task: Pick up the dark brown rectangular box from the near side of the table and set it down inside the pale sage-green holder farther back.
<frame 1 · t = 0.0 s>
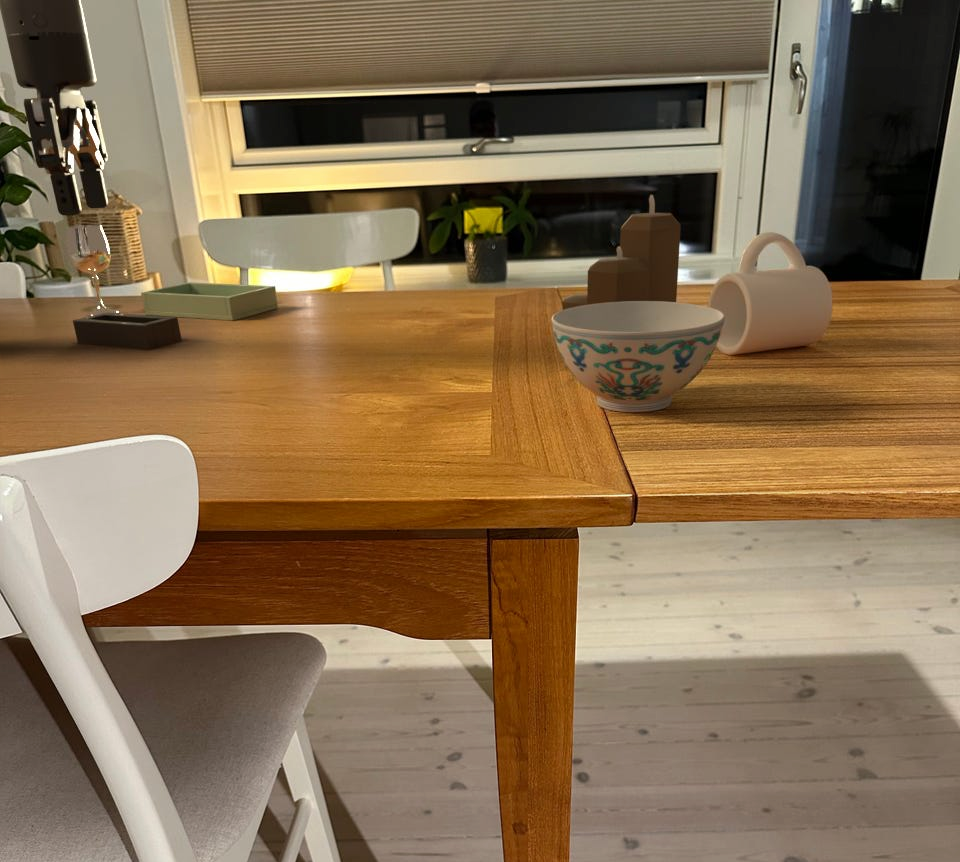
hand: (85, 211, 102), 16 cm above the table, tool pointing down, fingers open, 8 cm apart
holder: (211, 311, 141), on the table
mug: (764, 351, 105), on the table
dark brown rectangular box: (130, 347, 119), on the table
chinaware: (633, 405, 88), on the table
wineglass: (102, 314, 143), on the table
candle: (624, 333, 117), on the table
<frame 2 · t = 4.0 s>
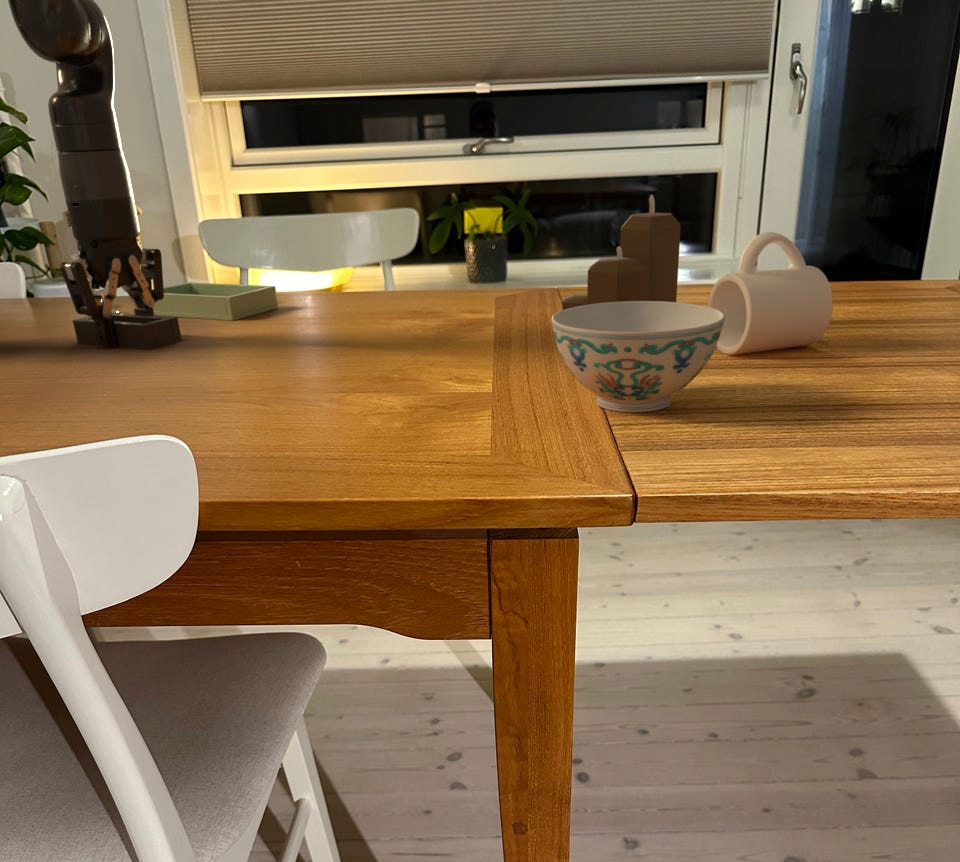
hand: (130, 343, 118), 1 cm above the table, tool pointing down, fingers closed on dark brown rectangular box, 5 cm apart
dark brown rectangular box: (130, 347, 119), on the table, touching gripper
everything else where it was.
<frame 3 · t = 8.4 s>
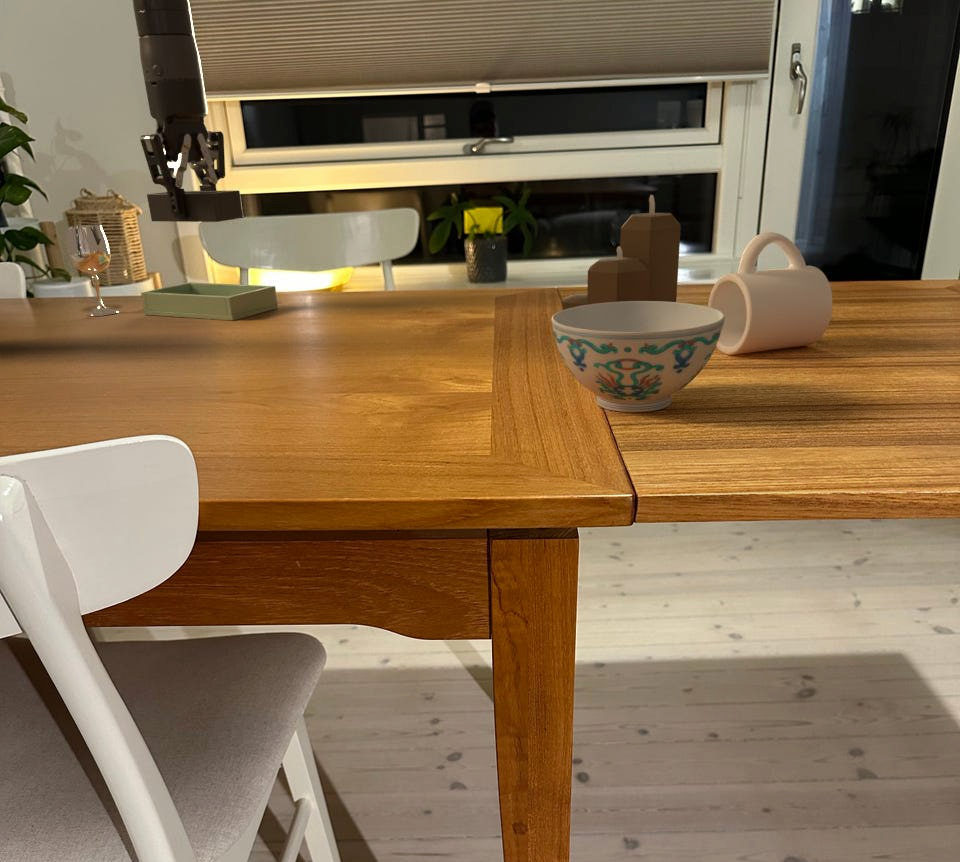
hand: (196, 215, 134), 13 cm above the table, tool pointing down, fingers closed on dark brown rectangular box, 5 cm apart
dark brown rectangular box: (197, 219, 135), point 12 cm above the table, touching gripper
everything else where it was.
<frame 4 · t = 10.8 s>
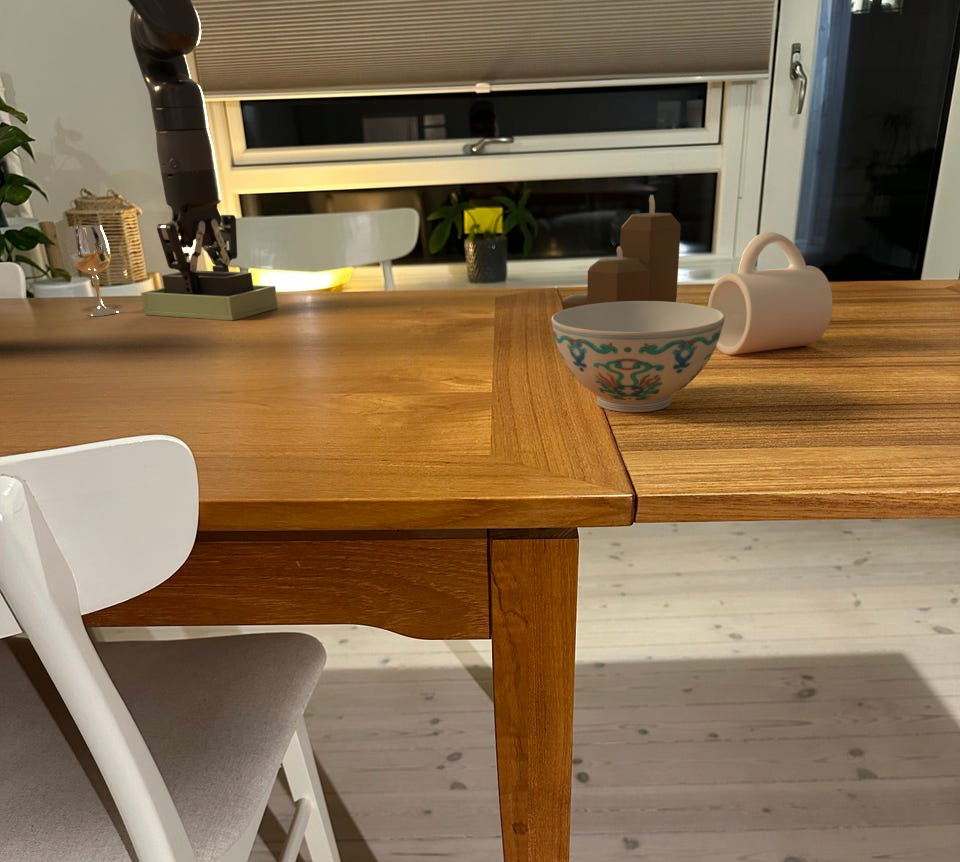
hand: (209, 295, 139), 2 cm above the table, tool pointing down, fingers closed on dark brown rectangular box, 5 cm apart
dark brown rectangular box: (210, 299, 140), point 2 cm above the table, touching gripper
everything else where it was.
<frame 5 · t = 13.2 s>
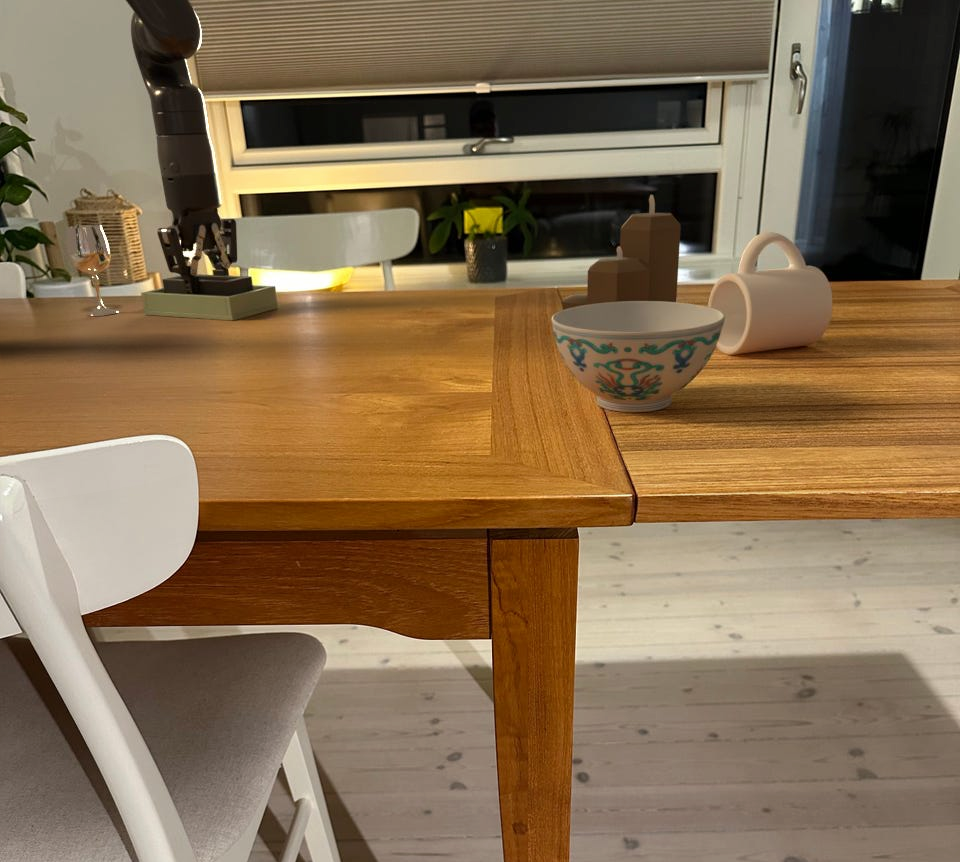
hand: (209, 299, 140), 2 cm above the table, tool pointing down, fingers closed on dark brown rectangular box, 5 cm apart
dark brown rectangular box: (210, 303, 140), point 1 cm above the table, touching gripper
everything else where it was.
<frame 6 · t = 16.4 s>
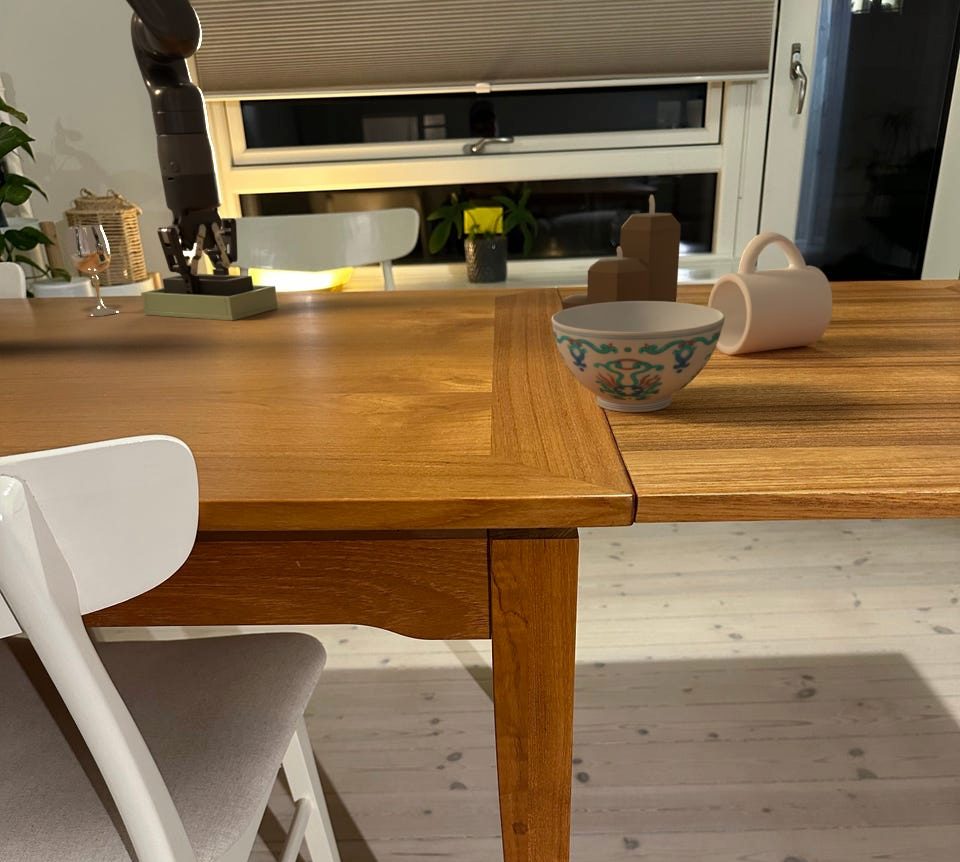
hand: (210, 298, 140), 2 cm above the table, tool pointing down, fingers closed on dark brown rectangular box, 5 cm apart
dark brown rectangular box: (211, 302, 140), point 1 cm above the table, touching gripper
everything else where it was.
when the fingers open (3 cm above the table, at t = 19.2 s): dark brown rectangular box drops 2 cm, resting on holder.
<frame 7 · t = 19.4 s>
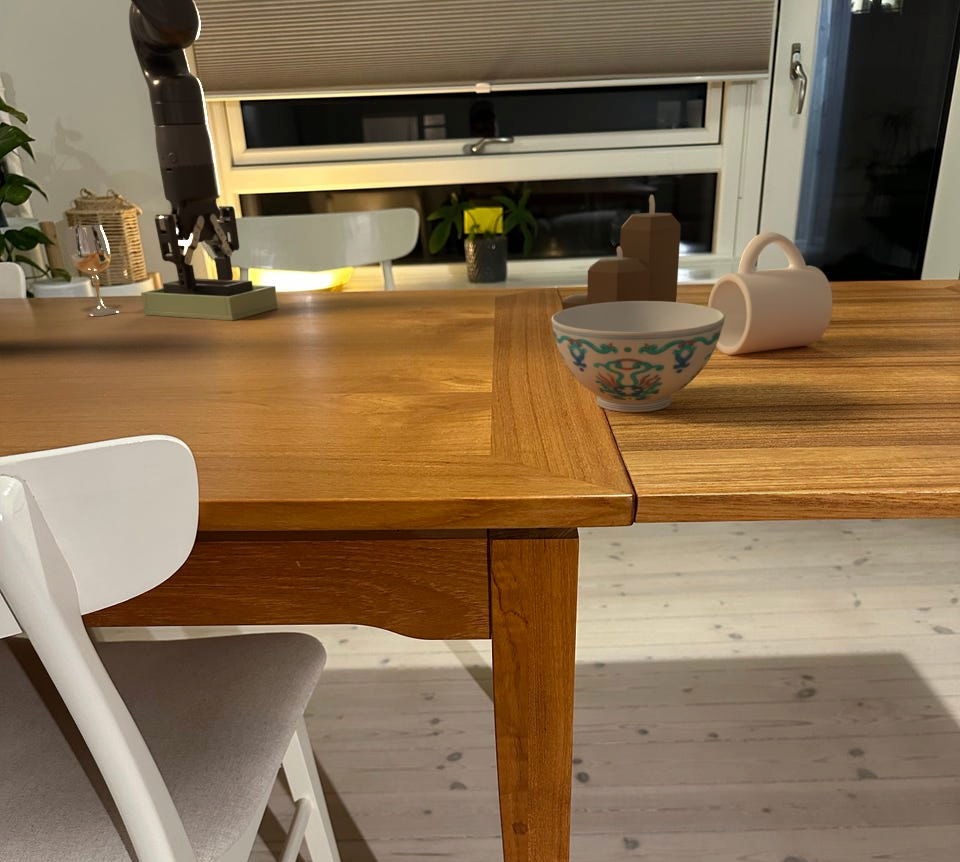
hand: (208, 288, 139), 3 cm above the table, tool pointing down, fingers open, 7 cm apart
dark brown rectangular box: (211, 307, 140), point 1 cm above the table, touching holder
everything else where it was.
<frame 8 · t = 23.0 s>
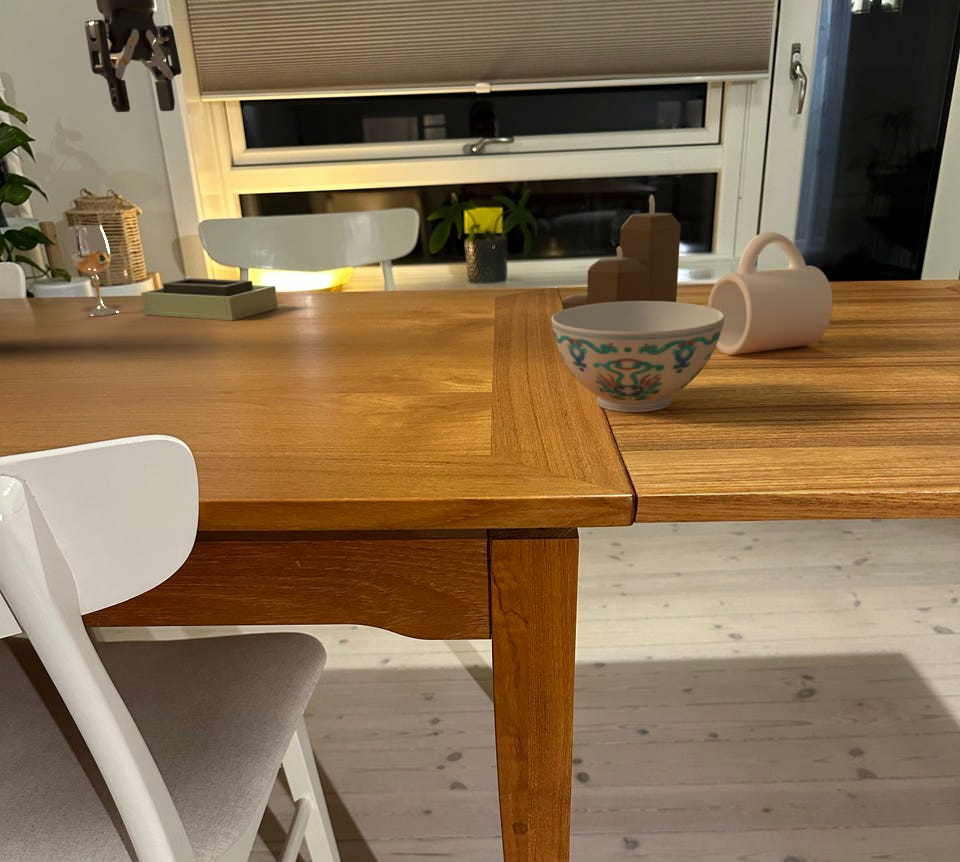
hand: (145, 111, 133), 26 cm above the table, tool pointing down, fingers open, 8 cm apart
nothing on the table moved.
at the end: dark brown rectangular box 0.0 cm off-centre in the holder, point 0.6 cm above the holder's base; dark brown rectangular box tilted 0°; the gripper is holding nothing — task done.
